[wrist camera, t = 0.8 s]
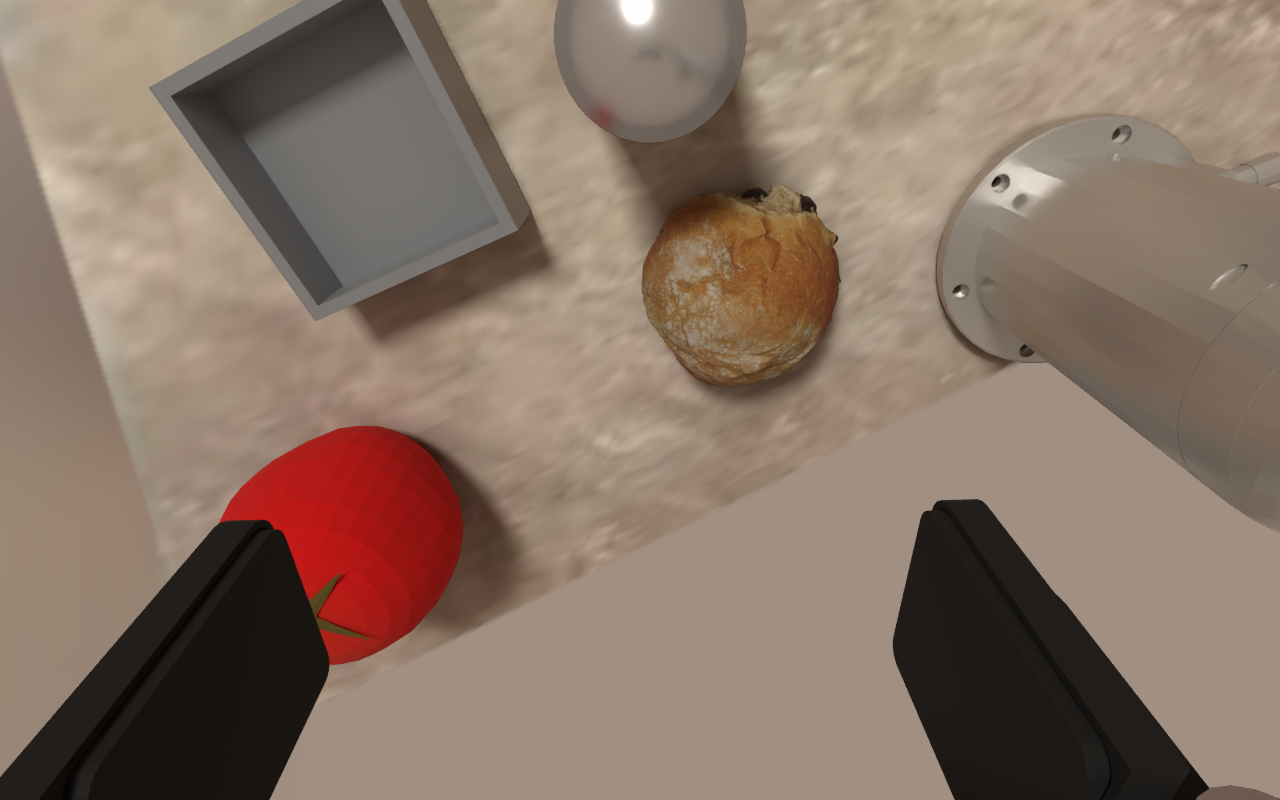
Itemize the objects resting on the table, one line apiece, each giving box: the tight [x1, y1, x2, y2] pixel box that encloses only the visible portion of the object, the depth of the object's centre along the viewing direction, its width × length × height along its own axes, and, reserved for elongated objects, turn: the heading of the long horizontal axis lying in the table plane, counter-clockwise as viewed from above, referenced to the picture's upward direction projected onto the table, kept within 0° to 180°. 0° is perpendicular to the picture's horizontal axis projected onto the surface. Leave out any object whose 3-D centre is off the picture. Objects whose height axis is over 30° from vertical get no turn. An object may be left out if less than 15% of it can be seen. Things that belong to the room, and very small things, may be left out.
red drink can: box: [554, 0, 746, 143], centre depth 26 cm, size 6×6×9 cm
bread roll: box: [642, 184, 841, 386], centre depth 33 cm, size 10×10×8 cm
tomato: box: [220, 426, 463, 665], centre depth 36 cm, size 12×12×13 cm
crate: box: [149, 0, 531, 321], centre depth 30 cm, size 11×11×4 cm
